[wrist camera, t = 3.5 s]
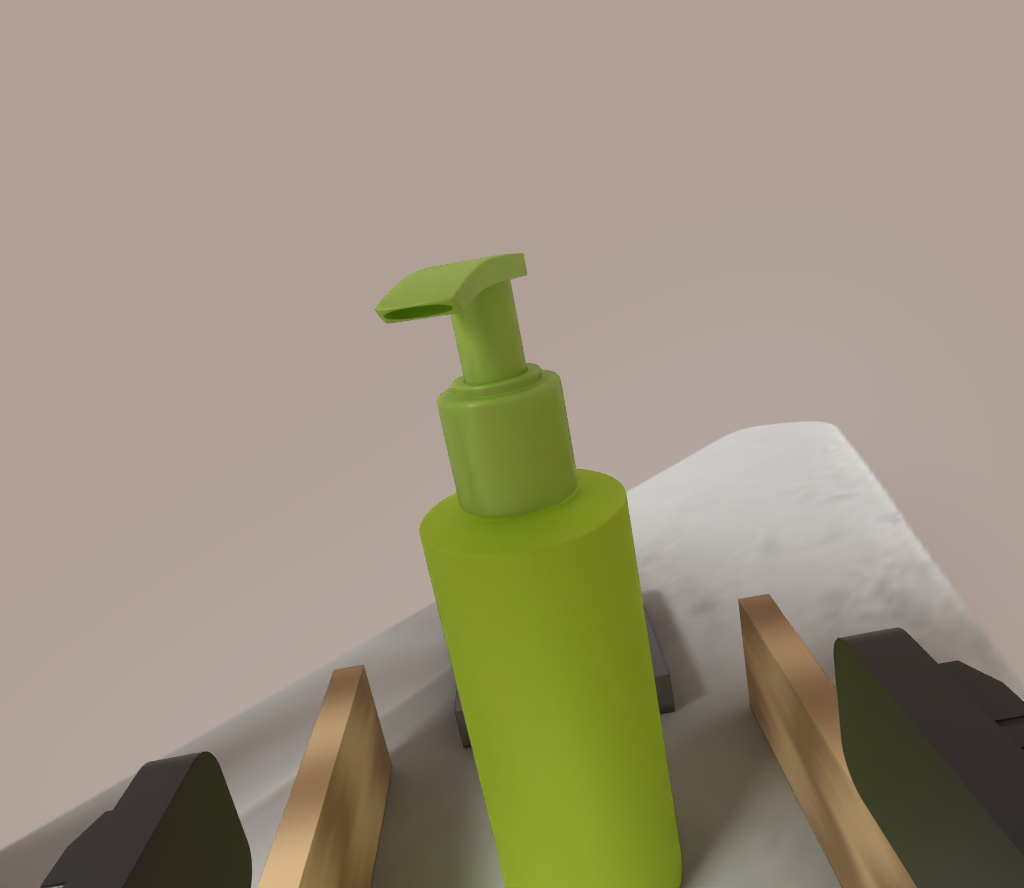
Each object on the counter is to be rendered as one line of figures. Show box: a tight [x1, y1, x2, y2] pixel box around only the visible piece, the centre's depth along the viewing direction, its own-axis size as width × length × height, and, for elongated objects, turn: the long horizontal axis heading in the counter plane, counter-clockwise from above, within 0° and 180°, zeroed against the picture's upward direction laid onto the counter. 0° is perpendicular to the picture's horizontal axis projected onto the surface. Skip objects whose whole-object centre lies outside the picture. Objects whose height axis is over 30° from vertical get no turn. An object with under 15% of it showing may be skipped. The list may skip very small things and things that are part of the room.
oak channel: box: [257, 594, 917, 888], centre depth 24 cm, size 14×17×5 cm
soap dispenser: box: [375, 253, 682, 888], centre depth 22 cm, size 6×7×20 cm
